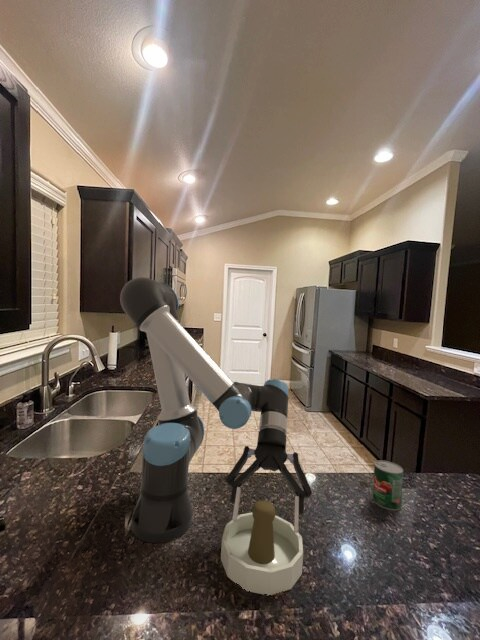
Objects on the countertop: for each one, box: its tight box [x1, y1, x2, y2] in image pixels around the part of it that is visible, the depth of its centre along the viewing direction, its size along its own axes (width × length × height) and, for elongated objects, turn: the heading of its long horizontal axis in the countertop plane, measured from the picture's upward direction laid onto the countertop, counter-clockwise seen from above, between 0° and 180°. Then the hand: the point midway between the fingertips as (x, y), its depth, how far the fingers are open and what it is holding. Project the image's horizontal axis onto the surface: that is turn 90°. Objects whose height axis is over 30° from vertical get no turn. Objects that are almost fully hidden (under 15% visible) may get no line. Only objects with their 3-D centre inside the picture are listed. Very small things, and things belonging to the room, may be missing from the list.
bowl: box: [220, 511, 304, 596], centre depth 66 cm, size 18×18×4 cm
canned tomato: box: [372, 459, 404, 512], centre depth 91 cm, size 8×8×11 cm
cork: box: [248, 499, 276, 564], centre depth 67 cm, size 6×6×11 cm
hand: (264, 526), depth 65 cm, fingers open, 13 cm apart
